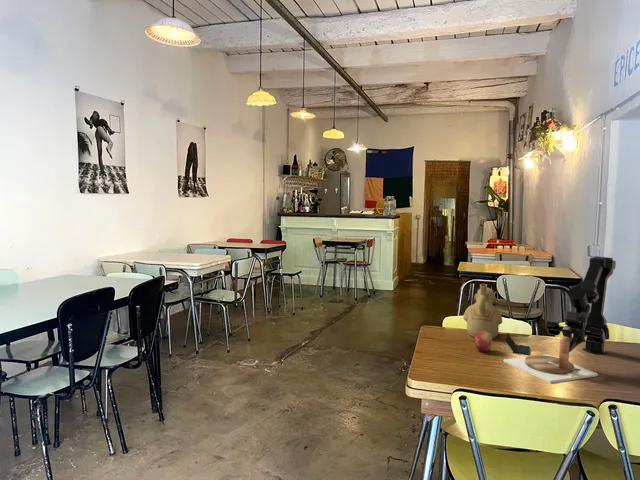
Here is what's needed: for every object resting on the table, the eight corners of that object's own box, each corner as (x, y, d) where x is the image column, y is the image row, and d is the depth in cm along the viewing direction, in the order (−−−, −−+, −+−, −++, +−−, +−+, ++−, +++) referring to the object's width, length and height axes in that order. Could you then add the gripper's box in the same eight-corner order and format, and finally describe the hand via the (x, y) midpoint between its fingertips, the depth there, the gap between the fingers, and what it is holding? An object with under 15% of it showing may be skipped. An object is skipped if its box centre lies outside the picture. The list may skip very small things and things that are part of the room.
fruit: (486, 355, 182) (487, 335, 181) (469, 350, 187) (469, 331, 187) (496, 351, 187) (497, 332, 186) (478, 346, 193) (479, 328, 192)
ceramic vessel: (502, 332, 215) (505, 280, 213) (500, 343, 198) (502, 286, 196) (465, 327, 222) (467, 276, 220) (459, 338, 205) (461, 282, 203)
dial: (515, 360, 172) (517, 329, 171) (546, 356, 178) (548, 325, 177) (551, 375, 158) (553, 341, 157) (584, 370, 164) (586, 337, 163)
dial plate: (547, 356, 182) (547, 352, 182) (597, 375, 161) (598, 372, 161) (503, 361, 175) (503, 358, 174) (549, 383, 154) (550, 379, 154)
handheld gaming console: (534, 352, 182) (518, 330, 184) (518, 361, 183) (503, 340, 186) (530, 348, 193) (515, 327, 195) (515, 356, 194) (501, 336, 197)
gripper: (547, 299, 171) (536, 333, 164) (605, 306, 158) (595, 344, 151) (553, 316, 178) (542, 350, 170) (609, 325, 165) (600, 362, 157)
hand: (568, 351), depth 162 cm, fingers closed
